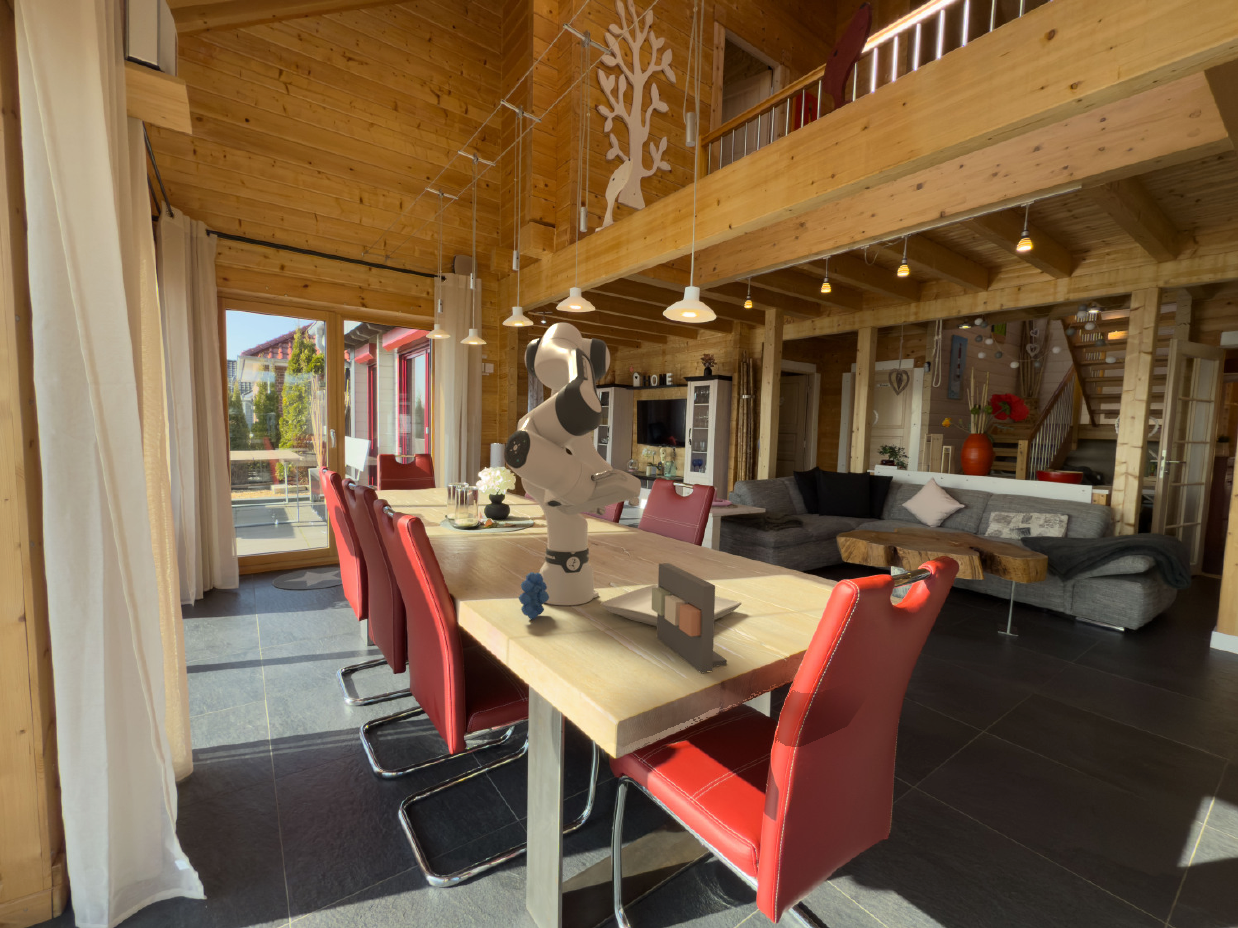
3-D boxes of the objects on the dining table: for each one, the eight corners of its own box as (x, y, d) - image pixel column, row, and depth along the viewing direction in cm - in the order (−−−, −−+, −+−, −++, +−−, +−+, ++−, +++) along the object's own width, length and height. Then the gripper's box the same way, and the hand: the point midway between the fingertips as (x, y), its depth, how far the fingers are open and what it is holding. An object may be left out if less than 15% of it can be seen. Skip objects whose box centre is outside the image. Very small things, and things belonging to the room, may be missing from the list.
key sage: (651, 609, 124) (652, 587, 124) (667, 607, 125) (668, 586, 125) (660, 615, 120) (661, 593, 119) (677, 613, 121) (678, 592, 121)
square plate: (691, 642, 124) (691, 625, 124) (597, 616, 141) (597, 601, 141) (742, 614, 146) (743, 599, 146) (655, 594, 163) (656, 581, 162)
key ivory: (664, 618, 118) (665, 595, 118) (681, 616, 119) (681, 594, 119) (674, 625, 113) (675, 602, 113) (692, 623, 115) (692, 600, 115)
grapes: (537, 629, 130) (538, 578, 129) (512, 625, 132) (513, 575, 132) (559, 614, 141) (560, 567, 140) (535, 611, 143) (536, 565, 143)
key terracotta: (679, 628, 112) (679, 604, 112) (696, 626, 113) (697, 603, 113) (690, 636, 107) (691, 612, 107) (708, 634, 109) (709, 610, 109)
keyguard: (656, 637, 126) (658, 563, 125) (684, 634, 129) (686, 561, 128) (701, 673, 107) (703, 586, 107) (732, 668, 110) (735, 583, 109)
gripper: (616, 455, 106) (659, 483, 115) (543, 479, 118) (586, 503, 127) (613, 484, 103) (657, 511, 112) (538, 506, 115) (583, 529, 124)
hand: (619, 507), depth 120 cm, fingers open, 8 cm apart
